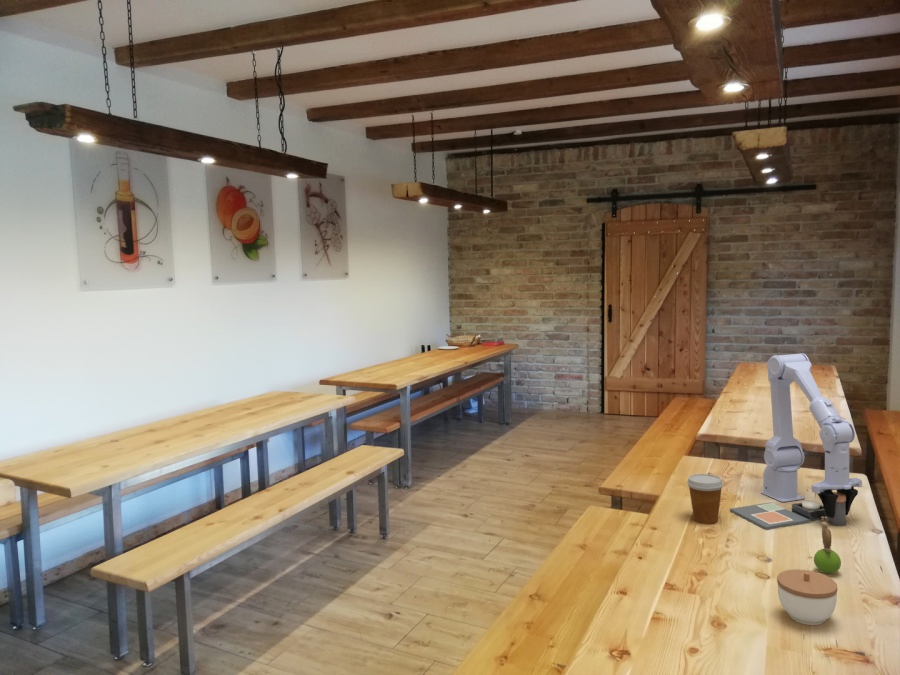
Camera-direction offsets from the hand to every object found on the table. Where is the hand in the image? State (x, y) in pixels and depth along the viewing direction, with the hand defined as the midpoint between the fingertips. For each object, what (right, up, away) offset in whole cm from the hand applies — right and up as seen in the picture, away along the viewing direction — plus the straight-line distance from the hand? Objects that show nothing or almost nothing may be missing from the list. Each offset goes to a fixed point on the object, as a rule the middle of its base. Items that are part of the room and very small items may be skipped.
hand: (836, 515), depth 181 cm
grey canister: (0, -2, 0) cm, 2 cm away
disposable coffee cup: (-33, -4, +8) cm, 34 cm away
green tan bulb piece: (-18, -6, -27) cm, 33 cm away
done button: (-4, 0, +6) cm, 7 cm away
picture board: (-15, -2, +7) cm, 17 cm away
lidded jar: (-32, -9, -46) cm, 57 cm away
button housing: (-3, -2, +7) cm, 8 cm away
